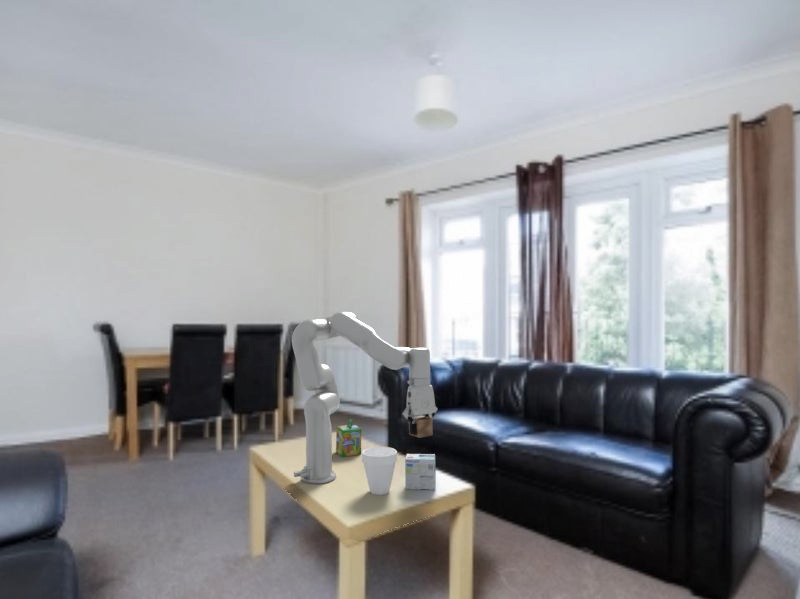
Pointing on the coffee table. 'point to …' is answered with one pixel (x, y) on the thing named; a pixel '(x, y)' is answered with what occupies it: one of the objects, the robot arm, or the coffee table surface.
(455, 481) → the coffee table surface
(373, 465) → the cup
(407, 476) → the light bulb box
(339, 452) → the chalk box
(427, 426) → the walnut block
